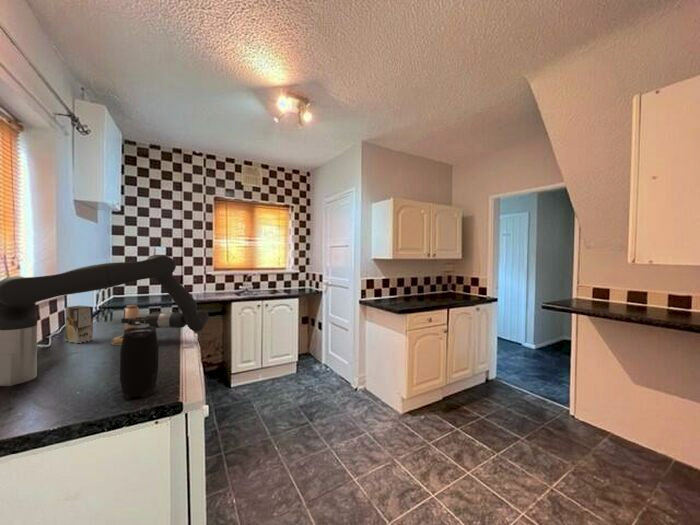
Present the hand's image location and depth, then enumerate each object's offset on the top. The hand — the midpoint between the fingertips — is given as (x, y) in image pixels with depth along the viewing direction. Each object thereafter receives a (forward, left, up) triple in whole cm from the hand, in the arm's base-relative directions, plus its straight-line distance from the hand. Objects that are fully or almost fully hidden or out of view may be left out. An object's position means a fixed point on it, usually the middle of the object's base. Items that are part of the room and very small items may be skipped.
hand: (126, 319), depth 144 cm
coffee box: (-1, +20, -11) cm, 23 cm away
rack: (0, -3, -10) cm, 11 cm away
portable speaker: (-55, -41, -10) cm, 69 cm away
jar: (0, -3, -8) cm, 9 cm away
